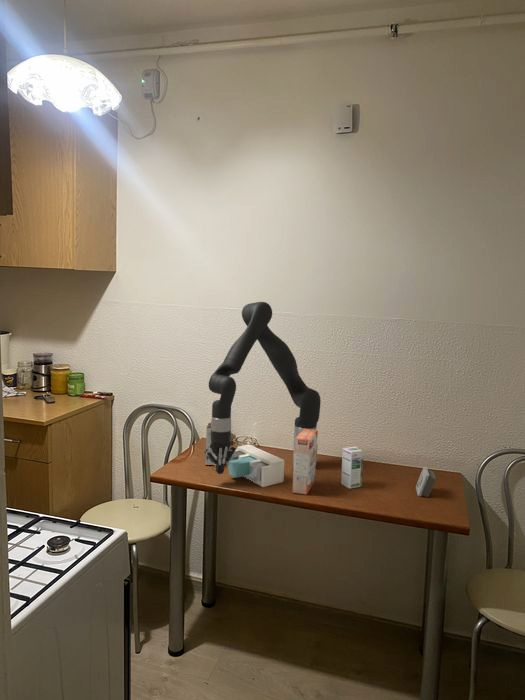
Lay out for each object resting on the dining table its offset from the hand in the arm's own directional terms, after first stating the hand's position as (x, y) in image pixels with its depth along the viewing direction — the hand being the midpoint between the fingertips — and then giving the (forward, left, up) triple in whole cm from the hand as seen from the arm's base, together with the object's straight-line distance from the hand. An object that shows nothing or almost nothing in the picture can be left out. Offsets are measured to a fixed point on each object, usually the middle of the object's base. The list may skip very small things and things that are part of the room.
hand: (219, 473), depth 194 cm
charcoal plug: (-15, -8, -2) cm, 17 cm away
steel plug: (-15, +7, -2) cm, 17 cm away
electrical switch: (-60, +48, -4) cm, 77 cm away
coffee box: (-11, -21, -4) cm, 24 cm away
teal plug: (-11, 0, -2) cm, 11 cm away
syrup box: (-42, +28, -4) cm, 50 cm away
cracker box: (-25, +20, -4) cm, 32 cm away
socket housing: (-17, 0, -4) cm, 17 cm away
